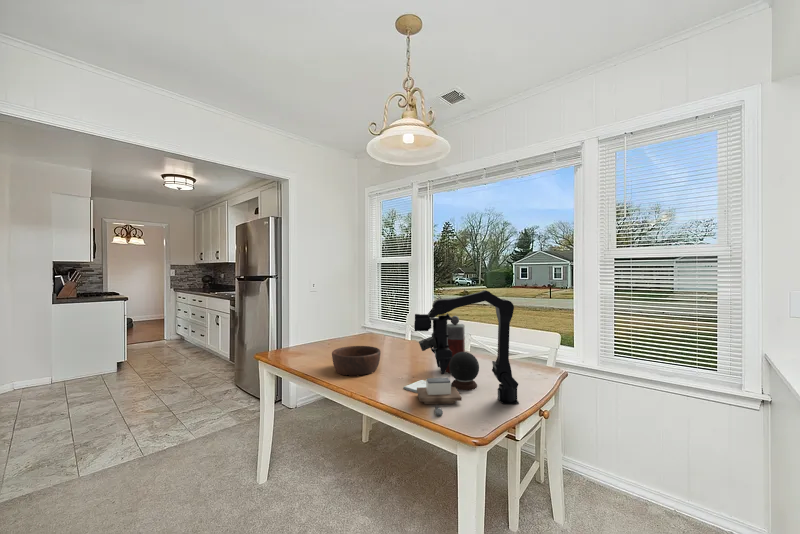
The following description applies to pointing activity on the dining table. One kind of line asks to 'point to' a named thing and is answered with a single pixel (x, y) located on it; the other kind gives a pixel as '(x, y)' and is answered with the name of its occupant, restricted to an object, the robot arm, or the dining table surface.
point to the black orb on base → (464, 370)
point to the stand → (438, 397)
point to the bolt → (438, 411)
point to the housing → (438, 386)
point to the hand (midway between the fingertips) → (440, 370)
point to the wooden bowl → (356, 360)
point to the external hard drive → (416, 386)
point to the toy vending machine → (455, 337)
